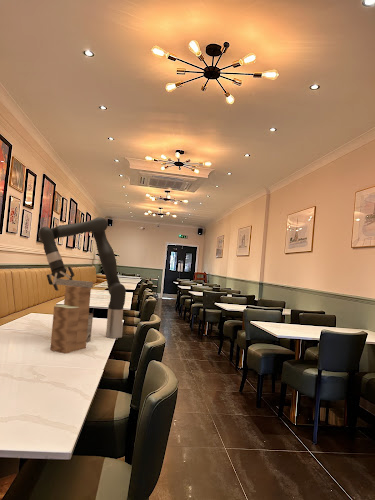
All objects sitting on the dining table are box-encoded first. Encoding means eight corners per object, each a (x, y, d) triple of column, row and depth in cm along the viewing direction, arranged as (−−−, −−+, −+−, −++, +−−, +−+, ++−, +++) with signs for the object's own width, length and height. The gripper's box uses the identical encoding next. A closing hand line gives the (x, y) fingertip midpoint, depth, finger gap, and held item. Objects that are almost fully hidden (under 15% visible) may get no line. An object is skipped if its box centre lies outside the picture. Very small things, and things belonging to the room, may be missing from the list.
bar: (55, 284, 193) (56, 278, 193) (59, 284, 195) (60, 278, 195) (88, 287, 184) (89, 282, 184) (92, 287, 187) (93, 281, 187)
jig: (50, 350, 179) (55, 286, 180) (70, 345, 193) (75, 285, 194) (65, 353, 175) (71, 287, 176) (85, 347, 189) (90, 287, 190)
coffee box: (71, 340, 203) (73, 312, 204) (79, 338, 209) (81, 311, 210) (83, 343, 199) (85, 314, 200) (91, 341, 205) (93, 313, 206)
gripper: (40, 265, 199) (50, 292, 198) (65, 256, 200) (75, 283, 199) (45, 265, 206) (54, 292, 205) (69, 256, 207) (78, 283, 207)
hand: (64, 287), depth 202 cm, fingers open, 8 cm apart
